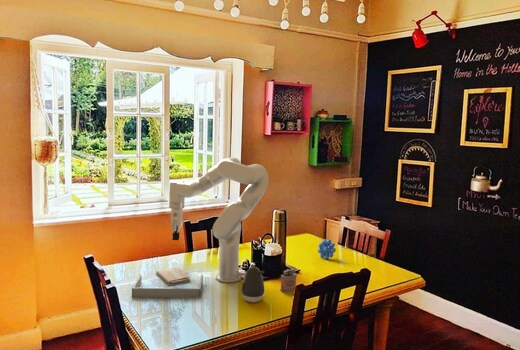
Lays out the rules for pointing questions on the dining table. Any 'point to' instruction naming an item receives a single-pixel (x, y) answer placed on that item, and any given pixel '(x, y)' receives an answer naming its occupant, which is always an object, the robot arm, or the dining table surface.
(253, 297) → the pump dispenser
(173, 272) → the washcloth
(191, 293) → the box
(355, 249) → the dining table surface
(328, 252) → the blue knobbly wheel
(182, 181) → the robot arm
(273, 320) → the dining table surface
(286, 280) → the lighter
